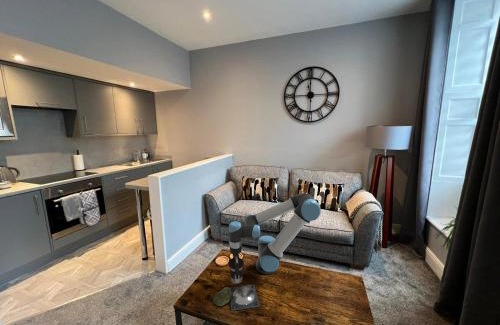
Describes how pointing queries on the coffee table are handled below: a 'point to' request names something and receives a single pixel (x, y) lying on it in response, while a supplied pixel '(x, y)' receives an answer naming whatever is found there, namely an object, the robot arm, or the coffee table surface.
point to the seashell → (222, 297)
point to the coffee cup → (232, 270)
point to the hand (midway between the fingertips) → (236, 277)
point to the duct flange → (243, 297)
